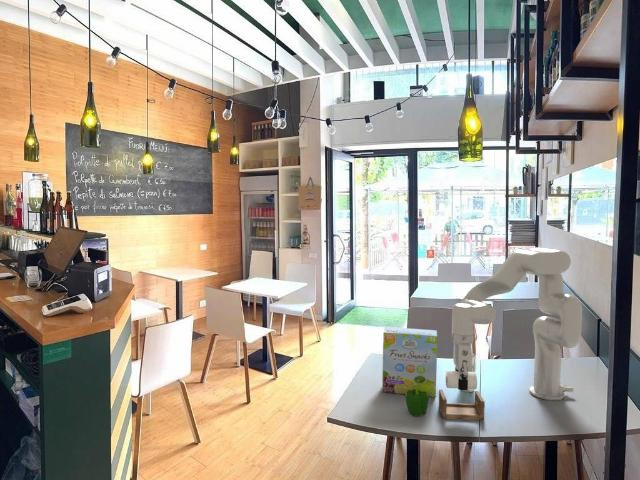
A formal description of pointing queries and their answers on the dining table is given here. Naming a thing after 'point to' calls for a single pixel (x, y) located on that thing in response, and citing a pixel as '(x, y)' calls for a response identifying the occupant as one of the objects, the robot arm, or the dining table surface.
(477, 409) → the cradle
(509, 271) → the robot arm
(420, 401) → the bell pepper
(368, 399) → the dining table surface
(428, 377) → the snack box
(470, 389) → the beer glass
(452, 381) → the roll
